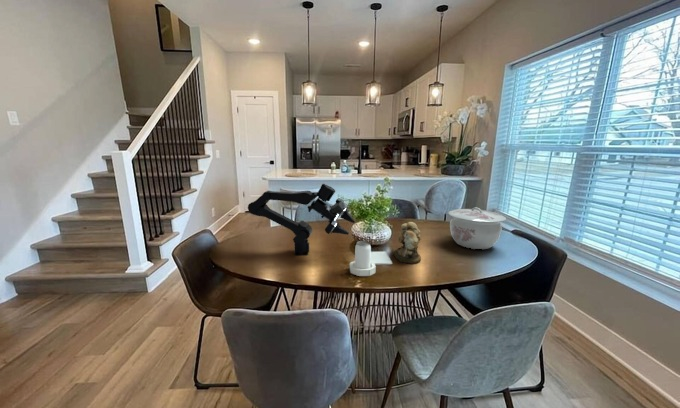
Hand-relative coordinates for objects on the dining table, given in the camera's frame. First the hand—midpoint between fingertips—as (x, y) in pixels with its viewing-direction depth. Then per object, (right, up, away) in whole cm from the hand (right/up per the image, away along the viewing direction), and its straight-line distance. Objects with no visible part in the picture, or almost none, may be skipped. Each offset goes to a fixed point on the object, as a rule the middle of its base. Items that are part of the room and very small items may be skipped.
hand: (351, 227), depth 134 cm
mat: (+10, -14, -1) cm, 17 cm away
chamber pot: (+65, -11, +19) cm, 69 cm away
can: (+4, -17, -14) cm, 22 cm away
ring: (+4, -17, -14) cm, 22 cm away
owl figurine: (+26, -14, +2) cm, 30 cm away
